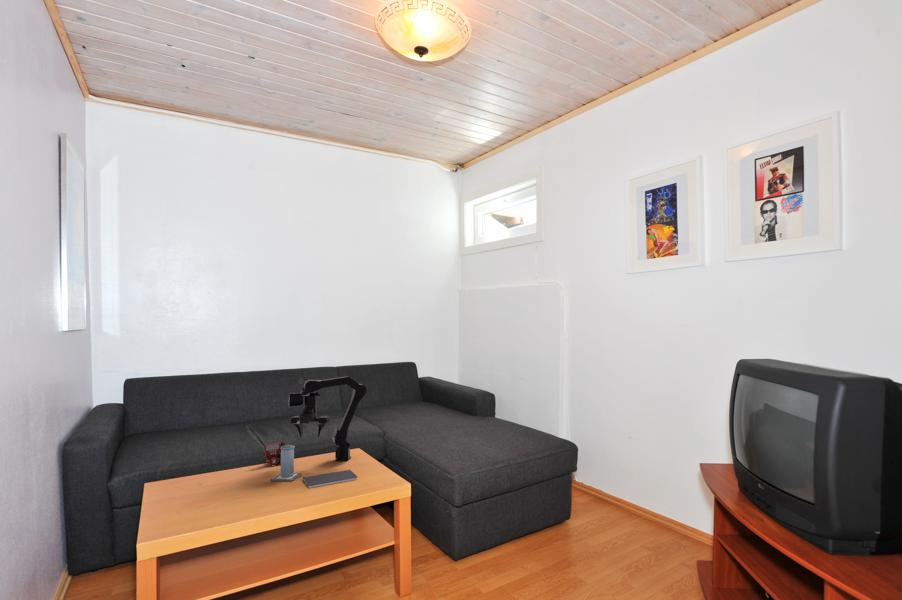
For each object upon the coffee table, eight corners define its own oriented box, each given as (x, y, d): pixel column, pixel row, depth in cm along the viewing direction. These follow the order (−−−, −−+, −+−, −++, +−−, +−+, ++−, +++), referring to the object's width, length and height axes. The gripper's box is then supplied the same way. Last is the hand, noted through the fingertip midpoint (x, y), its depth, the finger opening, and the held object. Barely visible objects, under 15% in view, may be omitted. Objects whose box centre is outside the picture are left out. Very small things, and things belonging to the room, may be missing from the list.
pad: (302, 474, 213) (302, 472, 213) (292, 481, 203) (292, 479, 203) (281, 473, 214) (281, 472, 214) (270, 481, 204) (270, 479, 204)
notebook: (350, 472, 215) (302, 480, 205) (349, 469, 215) (302, 477, 205) (358, 480, 204) (308, 489, 194) (358, 476, 204) (308, 485, 194)
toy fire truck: (292, 462, 231) (292, 441, 232) (266, 467, 224) (266, 445, 225) (288, 459, 237) (288, 439, 238) (263, 464, 230) (263, 443, 231)
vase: (294, 473, 212) (295, 444, 213) (293, 477, 206) (294, 447, 207) (280, 474, 211) (281, 445, 211) (279, 478, 205) (279, 448, 206)
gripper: (284, 408, 224) (284, 441, 223) (321, 408, 222) (322, 441, 221) (295, 404, 235) (295, 435, 234) (330, 404, 233) (330, 435, 232)
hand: (310, 437), depth 230 cm, fingers open, 9 cm apart
